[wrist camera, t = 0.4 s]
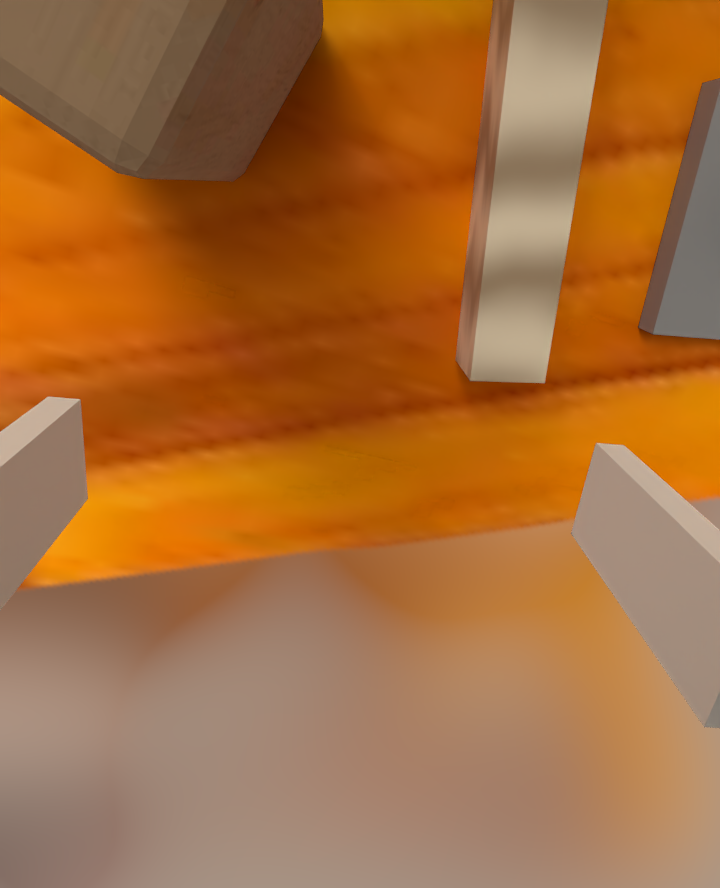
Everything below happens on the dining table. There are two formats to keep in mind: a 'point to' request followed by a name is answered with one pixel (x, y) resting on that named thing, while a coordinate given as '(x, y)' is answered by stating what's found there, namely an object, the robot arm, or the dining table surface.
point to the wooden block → (158, 77)
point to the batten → (526, 182)
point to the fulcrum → (691, 236)
